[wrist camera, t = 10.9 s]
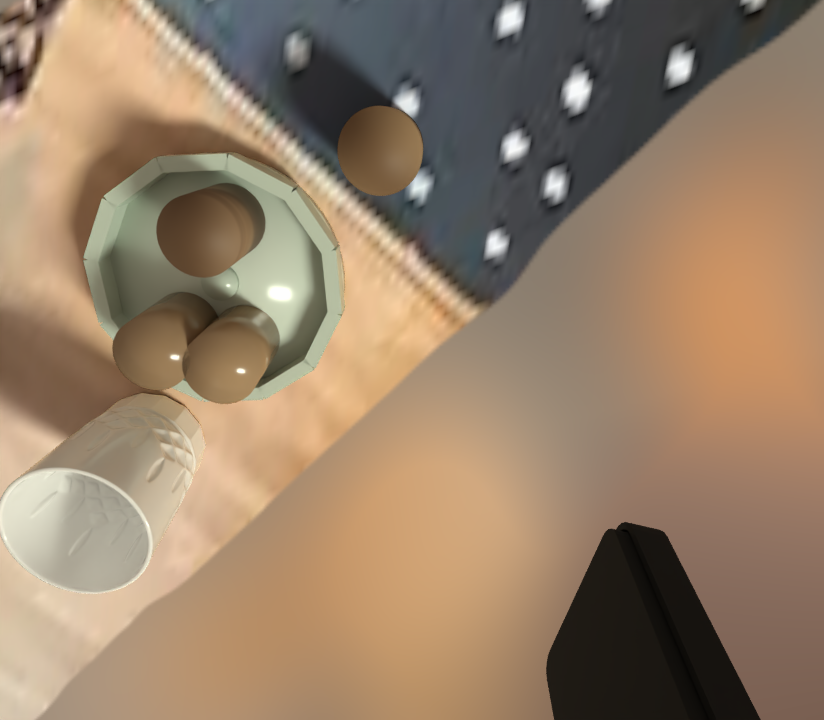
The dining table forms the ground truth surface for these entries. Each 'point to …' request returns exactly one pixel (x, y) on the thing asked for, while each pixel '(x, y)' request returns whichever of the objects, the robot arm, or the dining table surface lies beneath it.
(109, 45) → the dining table surface
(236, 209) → the bead
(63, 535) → the white cup
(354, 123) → the bead
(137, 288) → the tray
